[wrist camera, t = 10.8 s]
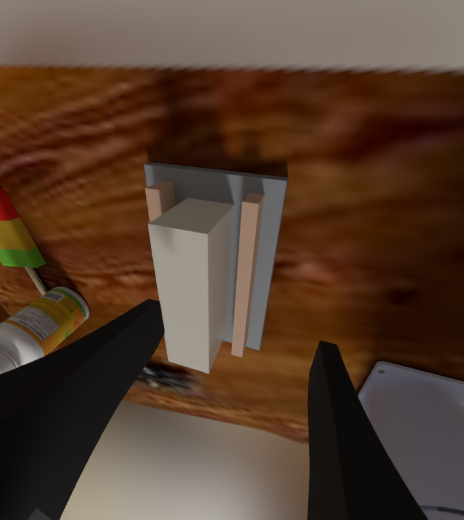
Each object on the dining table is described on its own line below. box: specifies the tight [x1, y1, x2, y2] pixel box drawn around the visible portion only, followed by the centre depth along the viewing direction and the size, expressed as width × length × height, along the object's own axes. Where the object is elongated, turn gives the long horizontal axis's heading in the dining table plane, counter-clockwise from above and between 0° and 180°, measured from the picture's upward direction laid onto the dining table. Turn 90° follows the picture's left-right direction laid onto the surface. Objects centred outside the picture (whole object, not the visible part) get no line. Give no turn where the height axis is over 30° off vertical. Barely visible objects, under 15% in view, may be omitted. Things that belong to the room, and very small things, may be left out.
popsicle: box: [0, 187, 48, 296], centre depth 28 cm, size 6×15×2 cm, turn 7°
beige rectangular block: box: [148, 198, 234, 373], centre depth 18 cm, size 12×4×5 cm, turn 177°
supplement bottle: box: [0, 287, 89, 374], centre depth 26 cm, size 5×5×10 cm
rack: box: [144, 162, 288, 357], centre depth 20 cm, size 16×10×3 cm, turn 177°
